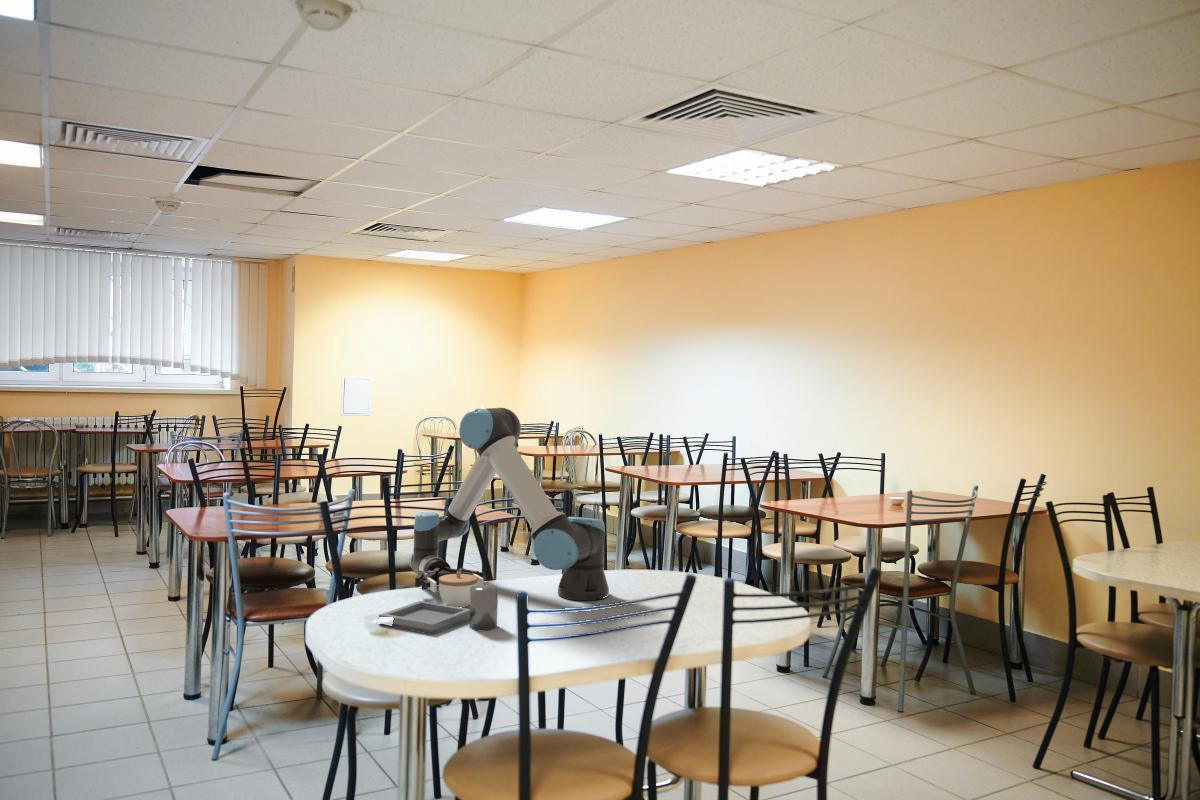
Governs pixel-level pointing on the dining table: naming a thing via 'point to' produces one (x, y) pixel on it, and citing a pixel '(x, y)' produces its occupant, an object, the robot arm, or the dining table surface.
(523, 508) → the robot arm
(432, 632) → the tray
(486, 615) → the metal tin
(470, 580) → the lidded jar
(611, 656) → the dining table surface
